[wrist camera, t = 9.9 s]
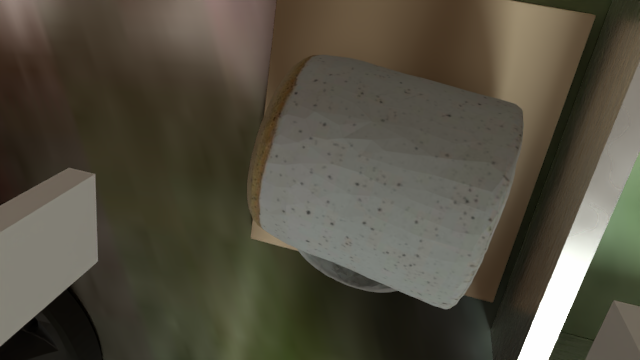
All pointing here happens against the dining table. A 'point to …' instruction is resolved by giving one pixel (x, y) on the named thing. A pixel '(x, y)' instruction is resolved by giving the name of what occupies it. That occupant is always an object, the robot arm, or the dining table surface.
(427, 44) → the cork pad
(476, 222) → the ceramic mug
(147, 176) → the dining table surface
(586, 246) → the equipment case
